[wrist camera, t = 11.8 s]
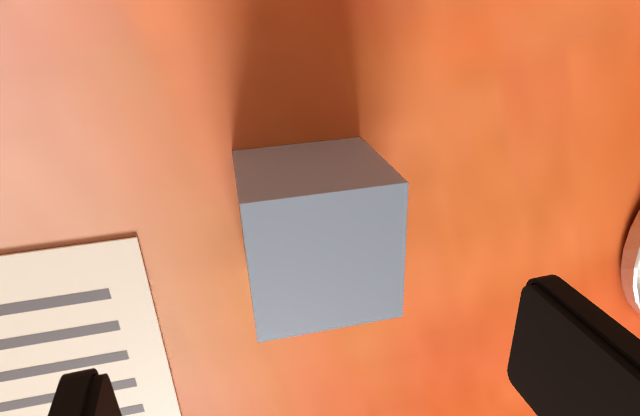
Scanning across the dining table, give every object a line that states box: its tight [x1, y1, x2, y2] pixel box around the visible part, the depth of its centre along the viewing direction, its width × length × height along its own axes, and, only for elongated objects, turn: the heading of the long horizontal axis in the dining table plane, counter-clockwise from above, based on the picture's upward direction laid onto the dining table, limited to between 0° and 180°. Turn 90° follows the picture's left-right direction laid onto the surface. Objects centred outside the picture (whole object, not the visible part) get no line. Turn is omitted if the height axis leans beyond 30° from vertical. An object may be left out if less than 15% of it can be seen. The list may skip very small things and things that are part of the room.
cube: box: [232, 137, 408, 343], centre depth 17 cm, size 5×5×5 cm
